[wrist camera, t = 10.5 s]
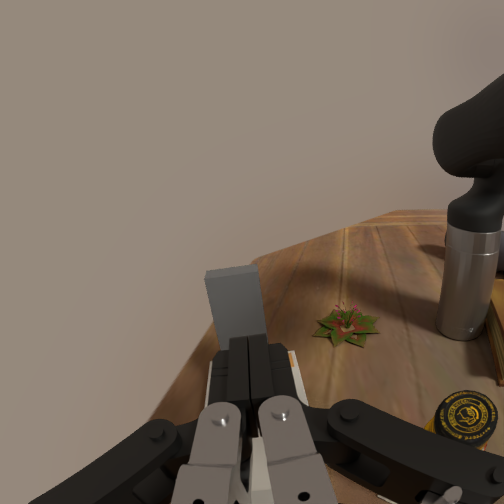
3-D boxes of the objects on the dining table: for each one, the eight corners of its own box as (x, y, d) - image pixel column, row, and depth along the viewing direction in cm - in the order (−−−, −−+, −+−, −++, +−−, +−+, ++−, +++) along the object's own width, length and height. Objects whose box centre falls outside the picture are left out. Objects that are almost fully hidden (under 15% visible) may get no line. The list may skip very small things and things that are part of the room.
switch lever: (280, 397, 30) (264, 274, 25) (228, 403, 30) (197, 284, 25) (276, 375, 34) (261, 259, 29) (229, 381, 34) (202, 267, 29)
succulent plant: (369, 359, 37) (372, 334, 36) (299, 342, 45) (297, 318, 43) (389, 317, 46) (391, 294, 45) (329, 306, 53) (329, 285, 52)
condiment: (376, 497, 17) (409, 433, 13) (419, 438, 22) (451, 358, 18) (436, 522, 11) (499, 464, 8) (471, 458, 16) (521, 379, 13)
